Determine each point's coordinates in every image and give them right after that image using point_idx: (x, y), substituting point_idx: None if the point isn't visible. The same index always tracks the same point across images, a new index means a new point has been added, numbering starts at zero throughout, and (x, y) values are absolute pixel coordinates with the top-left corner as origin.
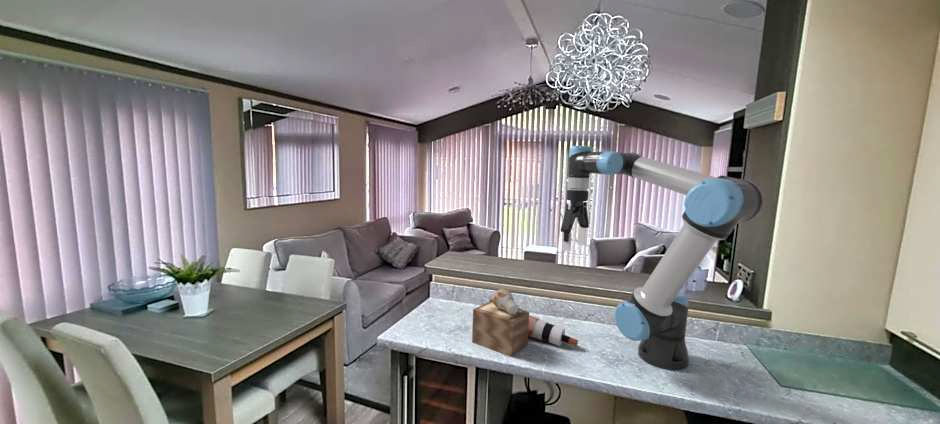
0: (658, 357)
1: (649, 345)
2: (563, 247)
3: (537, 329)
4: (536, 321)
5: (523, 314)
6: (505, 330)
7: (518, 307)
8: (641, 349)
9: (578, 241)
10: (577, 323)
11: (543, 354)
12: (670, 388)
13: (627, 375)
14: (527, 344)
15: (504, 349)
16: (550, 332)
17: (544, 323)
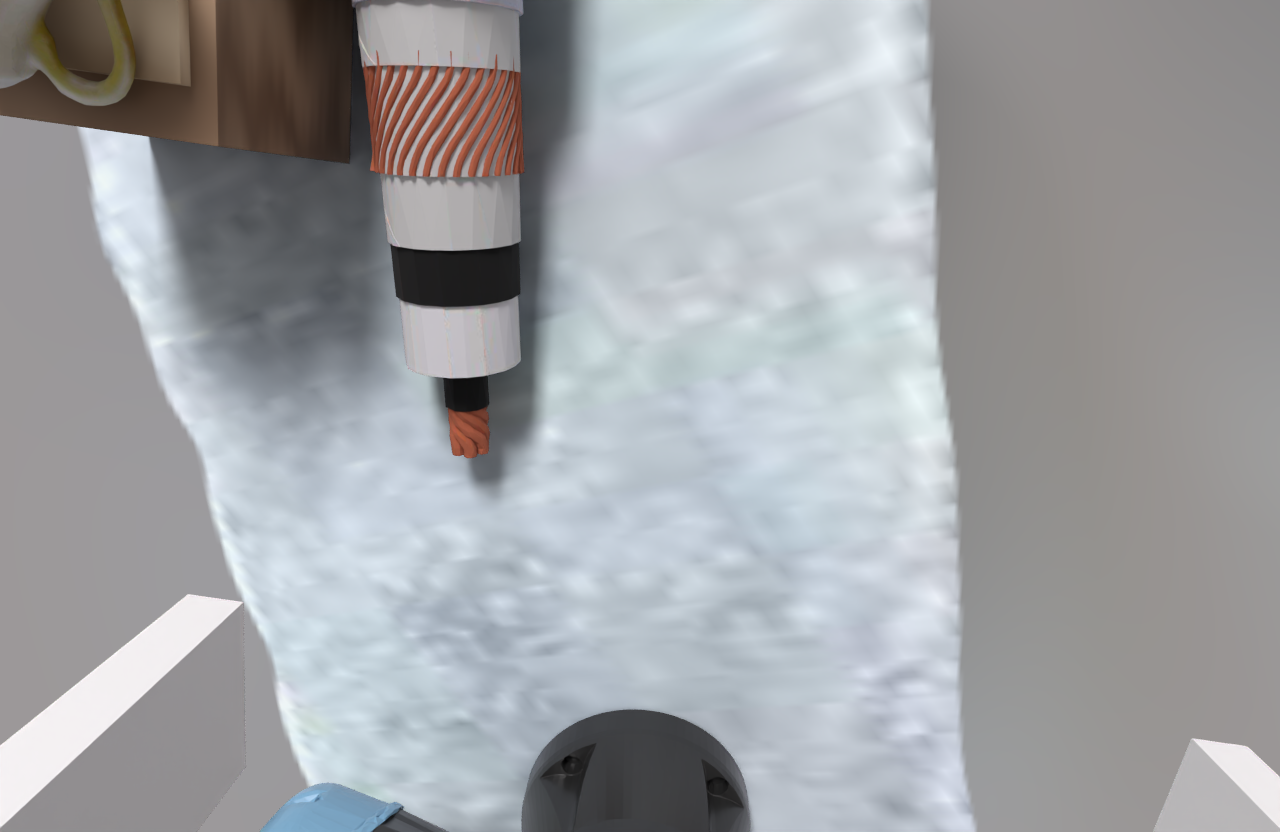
0: (523, 823)
1: (547, 815)
2: (142, 655)
3: (384, 203)
4: (407, 176)
5: (130, 122)
6: None
7: (3, 79)
8: (582, 751)
9: (1246, 829)
10: (864, 354)
11: (301, 292)
12: None
13: (369, 687)
14: (344, 162)
15: None
16: (400, 298)
17: (420, 241)
